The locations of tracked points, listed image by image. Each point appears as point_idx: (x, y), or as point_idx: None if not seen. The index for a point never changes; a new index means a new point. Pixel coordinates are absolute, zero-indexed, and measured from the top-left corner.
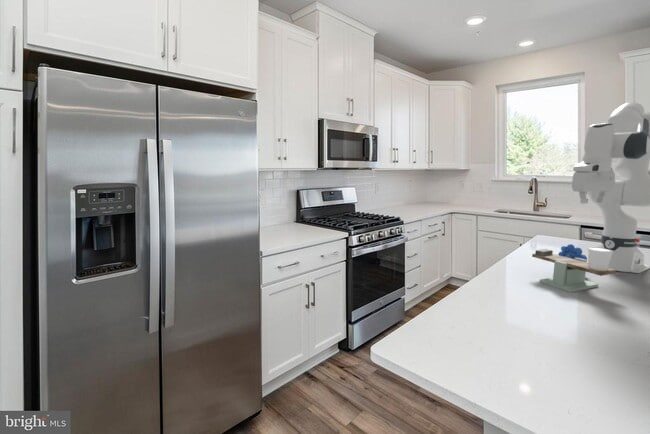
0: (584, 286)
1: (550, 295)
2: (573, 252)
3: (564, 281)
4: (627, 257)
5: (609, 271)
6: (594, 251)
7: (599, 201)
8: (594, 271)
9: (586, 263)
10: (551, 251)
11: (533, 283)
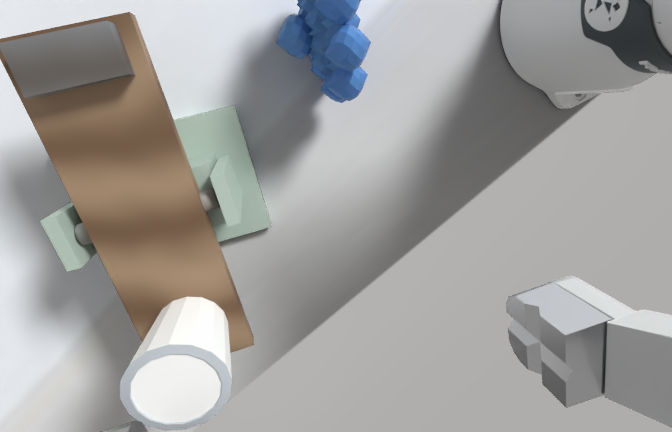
0: None
1: (4, 291)
2: (325, 37)
3: None
4: (587, 78)
5: None
6: (127, 401)
7: (519, 345)
8: None
9: (200, 260)
10: (118, 77)
11: (10, 162)
